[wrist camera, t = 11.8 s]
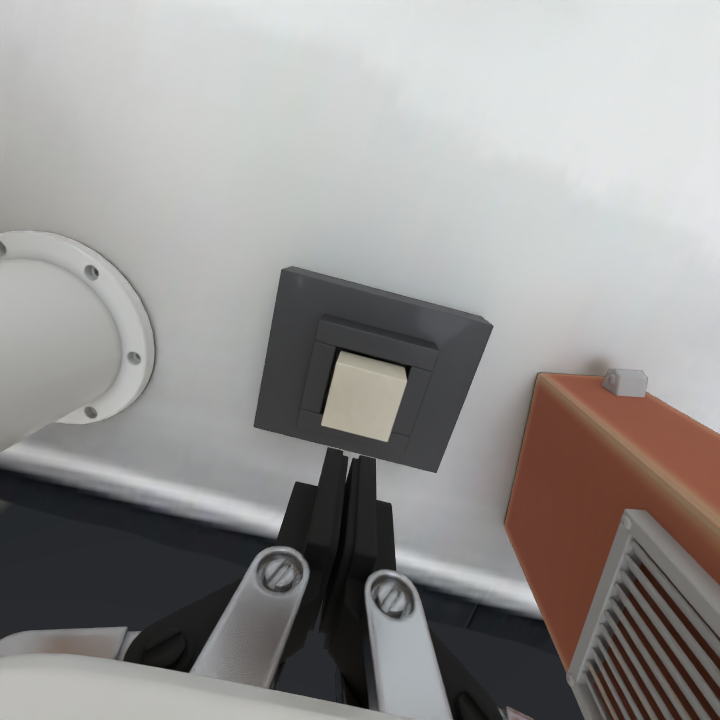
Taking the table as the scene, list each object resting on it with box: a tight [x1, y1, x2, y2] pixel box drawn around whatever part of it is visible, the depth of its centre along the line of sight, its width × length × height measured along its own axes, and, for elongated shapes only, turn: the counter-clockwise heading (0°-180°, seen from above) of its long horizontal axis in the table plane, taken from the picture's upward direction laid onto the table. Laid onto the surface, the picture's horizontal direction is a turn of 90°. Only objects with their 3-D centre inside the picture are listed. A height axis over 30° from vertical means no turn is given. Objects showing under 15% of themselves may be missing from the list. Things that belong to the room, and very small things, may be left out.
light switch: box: [254, 266, 493, 473], centre depth 22 cm, size 12×10×4 cm
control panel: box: [504, 369, 720, 720], centre depth 15 cm, size 21×7×15 cm
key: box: [321, 351, 407, 442], centre depth 19 cm, size 4×4×2 cm
